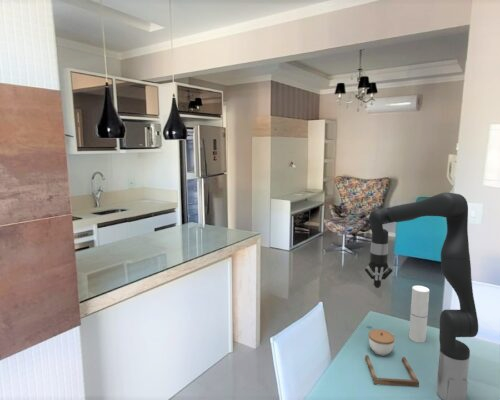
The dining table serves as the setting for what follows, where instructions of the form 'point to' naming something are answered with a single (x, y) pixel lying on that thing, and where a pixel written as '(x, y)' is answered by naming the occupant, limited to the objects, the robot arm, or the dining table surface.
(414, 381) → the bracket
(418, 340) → the cylindrical container
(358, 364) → the dining table surface
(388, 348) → the lidded jar
